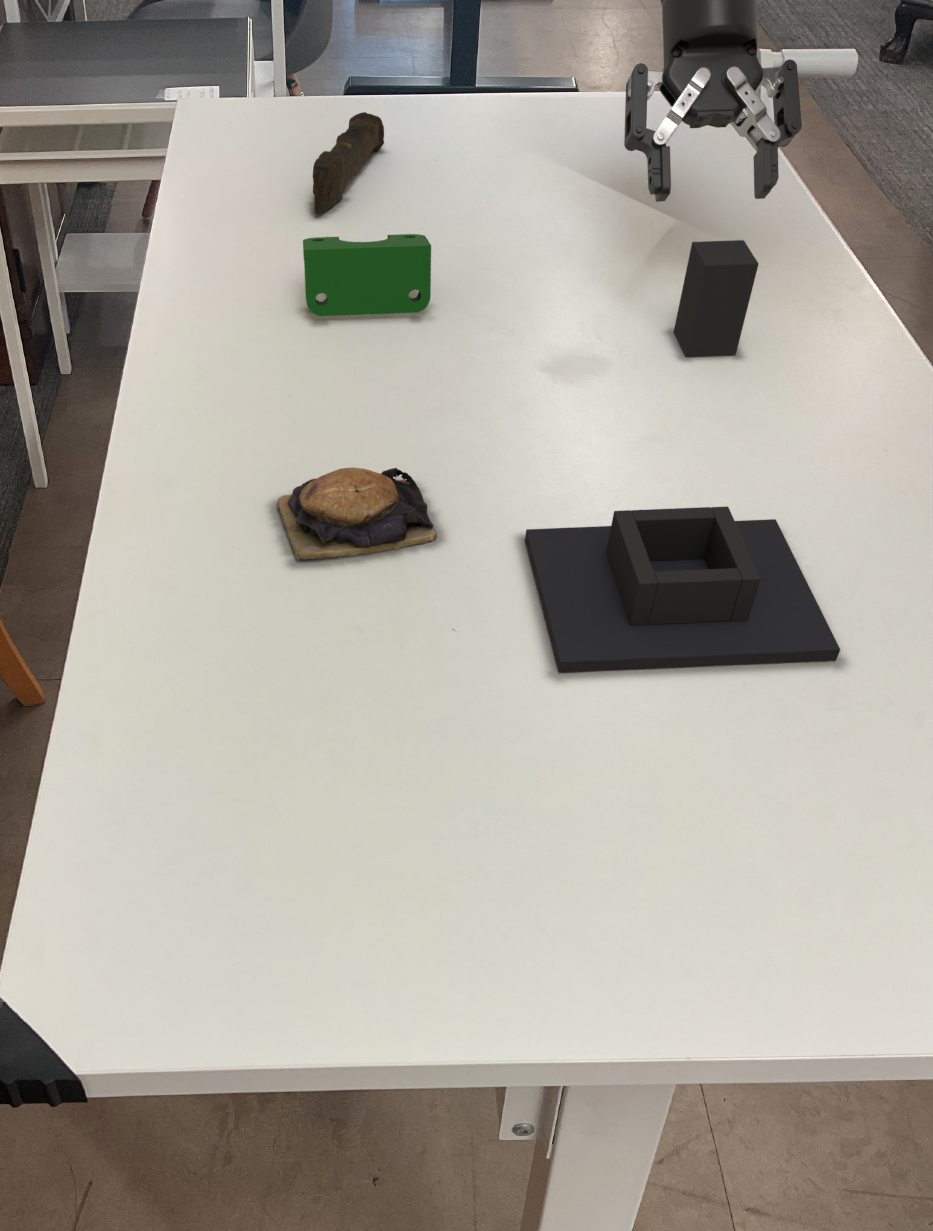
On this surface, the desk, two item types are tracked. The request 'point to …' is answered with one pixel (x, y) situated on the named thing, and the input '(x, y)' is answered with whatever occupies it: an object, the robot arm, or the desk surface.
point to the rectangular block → (715, 298)
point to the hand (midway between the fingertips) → (713, 196)
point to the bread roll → (355, 514)
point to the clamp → (367, 275)
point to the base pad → (675, 593)
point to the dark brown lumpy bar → (345, 159)
